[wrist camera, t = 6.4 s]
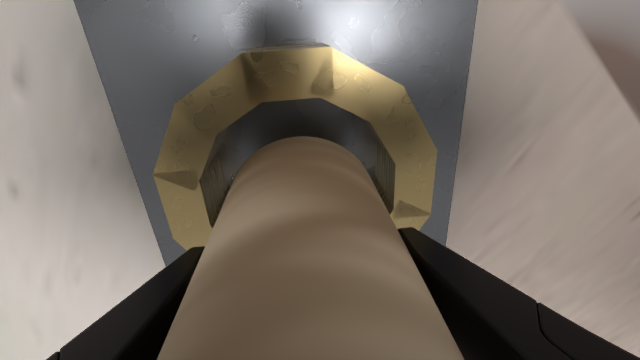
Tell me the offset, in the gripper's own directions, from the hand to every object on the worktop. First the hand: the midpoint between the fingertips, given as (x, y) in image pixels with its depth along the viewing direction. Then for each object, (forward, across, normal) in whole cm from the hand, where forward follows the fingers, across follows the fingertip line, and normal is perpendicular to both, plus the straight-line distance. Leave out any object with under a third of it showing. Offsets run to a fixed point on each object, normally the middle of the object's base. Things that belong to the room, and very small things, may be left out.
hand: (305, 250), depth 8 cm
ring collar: (+7, 0, 0) cm, 7 cm away
